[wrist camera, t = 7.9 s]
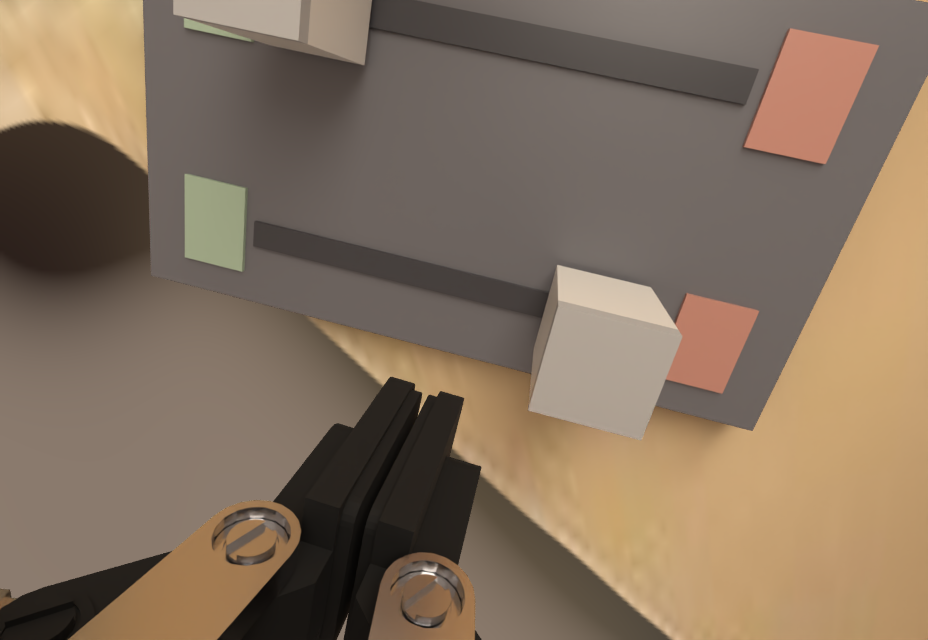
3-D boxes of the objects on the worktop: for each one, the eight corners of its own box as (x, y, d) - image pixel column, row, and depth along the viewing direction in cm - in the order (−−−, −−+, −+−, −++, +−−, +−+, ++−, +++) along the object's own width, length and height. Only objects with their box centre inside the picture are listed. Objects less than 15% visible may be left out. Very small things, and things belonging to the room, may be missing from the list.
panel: (919, 21, 19) (964, 7, 17) (737, 408, 25) (753, 433, 23) (175, -119, 21) (134, -146, 19) (178, 265, 27) (148, 276, 25)
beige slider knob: (651, 287, 21) (682, 336, 16) (621, 370, 23) (640, 440, 17) (557, 264, 21) (558, 305, 16) (533, 348, 23) (527, 410, 18)
